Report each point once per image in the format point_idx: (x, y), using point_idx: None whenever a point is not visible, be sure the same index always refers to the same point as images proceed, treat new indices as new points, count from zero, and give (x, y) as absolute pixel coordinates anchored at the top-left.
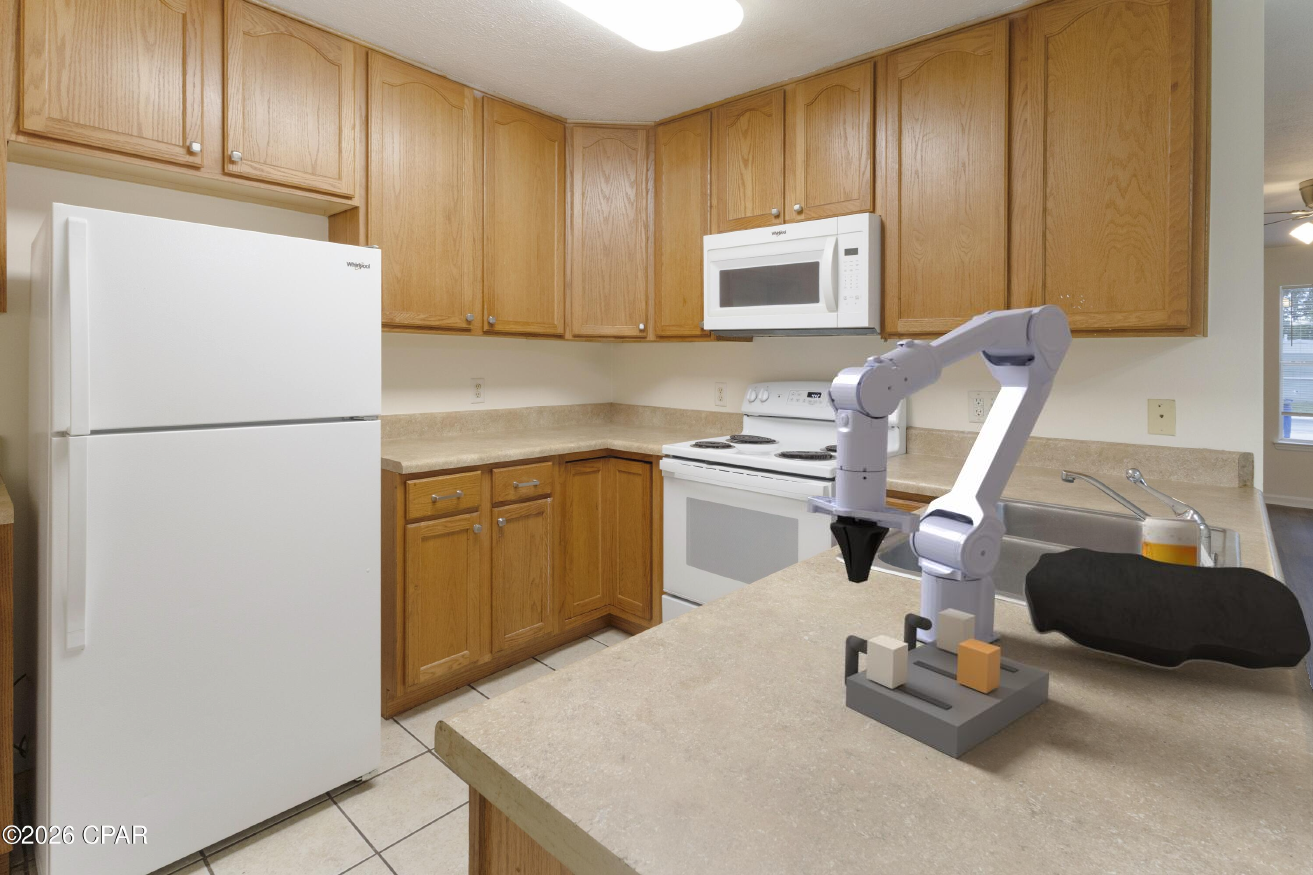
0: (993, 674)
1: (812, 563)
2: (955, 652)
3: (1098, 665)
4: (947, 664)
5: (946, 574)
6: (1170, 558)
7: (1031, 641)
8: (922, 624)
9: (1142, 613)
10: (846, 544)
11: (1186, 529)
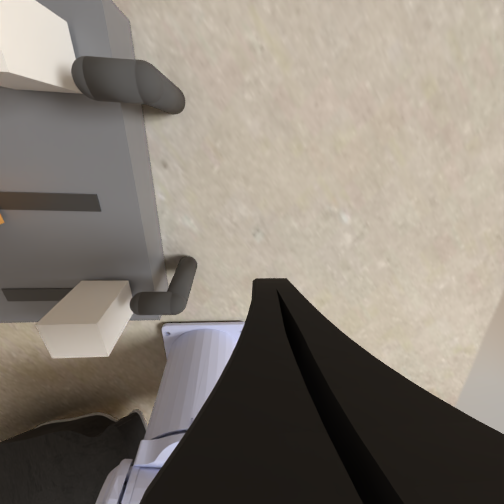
0: None
1: None
2: (93, 281)
3: (75, 395)
4: (68, 238)
5: (168, 443)
6: None
7: (151, 397)
8: (140, 295)
9: (25, 489)
10: (331, 376)
11: None
